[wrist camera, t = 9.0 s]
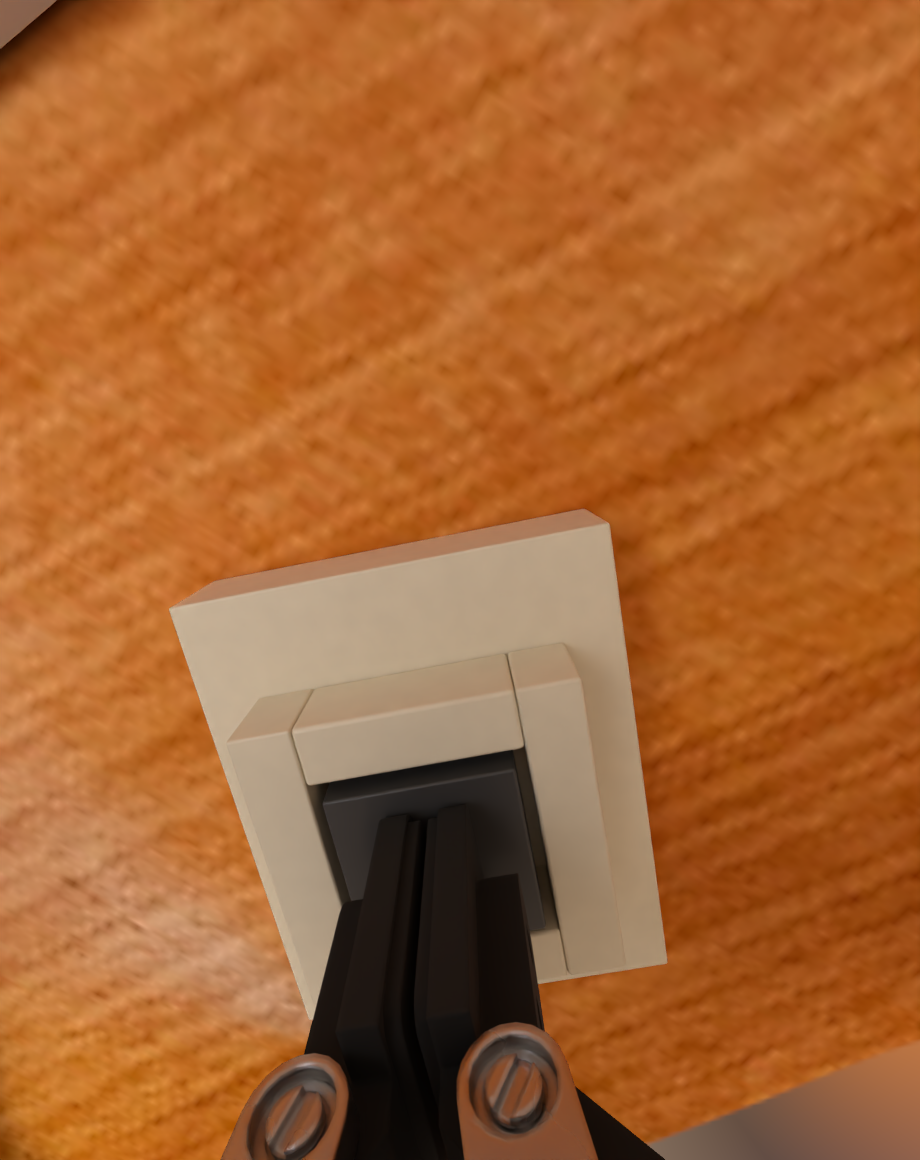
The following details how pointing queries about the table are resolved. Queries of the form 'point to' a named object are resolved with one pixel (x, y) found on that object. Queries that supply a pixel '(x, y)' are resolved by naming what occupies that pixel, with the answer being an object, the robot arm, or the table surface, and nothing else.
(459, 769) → the black key
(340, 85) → the table surface
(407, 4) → the table surface
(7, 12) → the smartphone
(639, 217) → the table surface
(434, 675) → the key block
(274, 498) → the table surface
